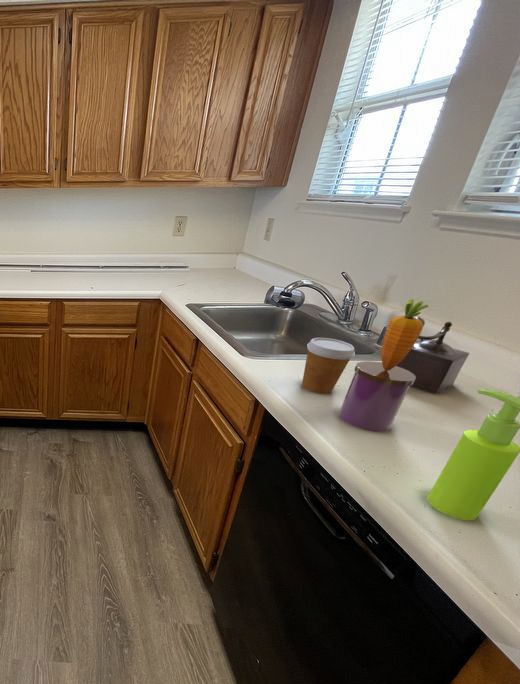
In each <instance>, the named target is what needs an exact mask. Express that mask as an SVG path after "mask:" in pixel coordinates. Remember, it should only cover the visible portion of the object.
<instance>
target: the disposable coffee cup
mask: <svg viewBox="0 0 520 684" xmlns="http://www.w3.org/2000/svg"><path fill="white" fill-rule="evenodd" d="M306 347H307V352H306V353H307V354H306V359H305V365H304V371H303V376H302V382H301V387H303V388H304V389H305V390H307V391H310V392H312V393H316V394H322V395H327V394H328V395H329V394H331V393H332V392H333V390H334V388H335V387H336V385H337V383H338V381H339V380H340V378H341V376H342V374H343V372H344V370H345V369H346V367H347V366H348V364H349V362H350V360H351V359H352V358H353V357H354V356H355V355H356V353H355V347H354V346H353V345H352V344H351V343H348V342H346V341H343V340H339V339H335V338H328V337H314V338H311V340H310V341H309V342H308V343H307V344H306Z"/></svg>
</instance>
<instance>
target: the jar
mask: <svg viewBox="0 0 520 684" xmlns="http://www.w3.org/2000/svg"><path fill="white" fill-rule="evenodd" d="M415 379H416V376H415V375H414V374H413V373H411V372H410V371H408V370H405V369H403V368H400V367H397V366H395V367H394V368H392V369H391V370H388V371H385V370H384V368H383V365H382V361H369V360H367V361H366V360H365V361H364V360H363V361H359V362H357V363H356V364H355V367H354V374H353V377H352V379H351V382H350V385H349V387H348V388H347V392H346V394H345V397H344V400H343V402H342V405H341V407H340V410H339V412H338V416H339V418H340V419H341V420H342V421H344V422H345V423H347V424H349V425H351V426H353V427H356V428H358V429H362V430H365V431H370V432H376V433H383V432H388V431H389V430H390V429H391V427H392V425H393V423H394V422H395V419H396V416H397V415H398V412H399V410H400V408H401V406H402V404H403V402H404V400H405V398H406V396H407V393H408V391H409V389H410V387H411V386H410V385H412V384H413V383H414V381H415Z"/></svg>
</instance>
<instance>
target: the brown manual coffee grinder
mask: <svg viewBox="0 0 520 684" xmlns="http://www.w3.org/2000/svg"><path fill="white" fill-rule="evenodd" d="M414 318H417V319H419V320H420V321H422V323H423V327H424V326H425V325H426V322H425V319H424V318H423V317H420V316H419V315H417V316H415V317H414ZM443 325H444V326H442V328H441V330H440V331H439V332H437V333H436V334H433V335H432V336H424V335H419V337H418V338H417V340H416V342H415V344H414V346H413V347H412V349H411V350H410V351H409V353H408V354H407V355H406V357H405V358H404V359H403V360H402V361H401V362H400V363H399V364H398V365H396V366H397V367H400V368H403V369H405V370H408V371H410V372H411V373H413V374H414V375H415V376H416V379H415V381H414V383H413V384H412V385H410V387H412V388H415V389H417V390H421V391H423V392H427V393H431V394H434V395H436V394H440V393H441V392H444V391H445V390H447V389H449V388H450V387H452V386H453V385H454V384H455V382H456V380H457V377H458V375H459V374H460V371H462V368H463V366H464V365H465V362H466V360H467V359H468V357H469V355H470V352H468V351H464V350H461V349H456V348H453V347H452V346H450V345H449V344H447V343H446V342H444V339H445V337H446V335H447V333H448V332H450V330H451V327H452V326H453V322H451V321H446V322H445V323H444V324H443Z"/></svg>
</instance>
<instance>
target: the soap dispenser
mask: <svg viewBox="0 0 520 684" xmlns="http://www.w3.org/2000/svg"><path fill="white" fill-rule="evenodd" d="M476 390H477V393H478V394H480V395H484V396H488V397H490V398H494V399H496V400H498V401H501V402H503V405H502V406H501V408H500V409H499V411H498V413H490V414H488V415H486V417H485V418H484V420H483V422H482V424H481V426H480V427H479V429H466V430H465V431H464V432H463V433H462V435H461V437H460V438H459V440H458V442H457V444H456V446H455V447H454V449H453V451H452V453H451V455H450V456H449V458H448V460H447V462H446V463H445V465H444V467H443V468H442V470H441V472H440V474H439V475H438V478H437V479H436V481H435V483H434V485H433V486H432V488H431V489H430V492H429V493H428V496H427V497H426V499H427V502H428V503H429V504H430V505H431V506H432V507H433V508H434V509H436V510H437V511H439V512H441V513H443V514H445V515H447V516H450V517H452V518H454V519H458V520H462V521H475V520H477V519H478V518H479V516H480V514H481V513H482V511H483V510H484V509H485V506H486V505H487V503H488V502H489V500H490V498H492V495H493V494H494V493H495V491H496V489H497V488H498V486H499V485H500V483H501V482H502V480H503V479H504V477H505V476H506V474H507V473H508V471H509V469H510V467H511V466H512V464H513V463H514V461H516V458H517V457H518V455H519V454H520V445H519V444H517V443H516V442H515V441H513V439H514V438H515V436H516V435H517V433H518V432H519V430H520V422H519V421H518V420H517V419H516V418H517V417H518V415H519V414H520V397H517V396H516V395H513V394H510V393H508V392H504V391H500V390H496V389H489V388H485V389H476Z"/></svg>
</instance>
